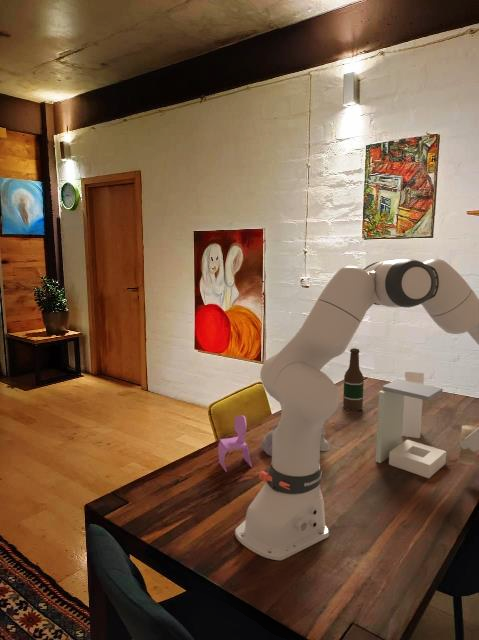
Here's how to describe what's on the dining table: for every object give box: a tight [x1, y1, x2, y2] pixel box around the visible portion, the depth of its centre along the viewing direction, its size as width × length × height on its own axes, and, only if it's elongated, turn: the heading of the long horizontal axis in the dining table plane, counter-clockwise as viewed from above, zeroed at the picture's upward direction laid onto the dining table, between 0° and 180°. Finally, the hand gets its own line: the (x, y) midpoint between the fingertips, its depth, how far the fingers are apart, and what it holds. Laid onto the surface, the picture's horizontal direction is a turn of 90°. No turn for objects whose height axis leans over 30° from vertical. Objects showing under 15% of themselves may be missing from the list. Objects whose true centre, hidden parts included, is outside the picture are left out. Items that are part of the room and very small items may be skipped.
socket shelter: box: [375, 378, 447, 479], centre depth 139 cm, size 14×16×23 cm
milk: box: [402, 371, 425, 439], centre depth 159 cm, size 6×6×22 cm
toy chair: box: [217, 414, 253, 473], centre depth 138 cm, size 8×9×15 cm
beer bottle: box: [342, 348, 365, 412], centre depth 184 cm, size 8×8×24 cm
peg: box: [458, 424, 478, 467], centre depth 128 cm, size 4×4×10 cm
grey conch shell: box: [261, 423, 279, 457], centre depth 147 cm, size 12×12×11 cm
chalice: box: [320, 419, 331, 452], centre depth 149 cm, size 7×7×18 cm
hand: (466, 443), depth 128 cm, fingers closed on peg, 4 cm apart
